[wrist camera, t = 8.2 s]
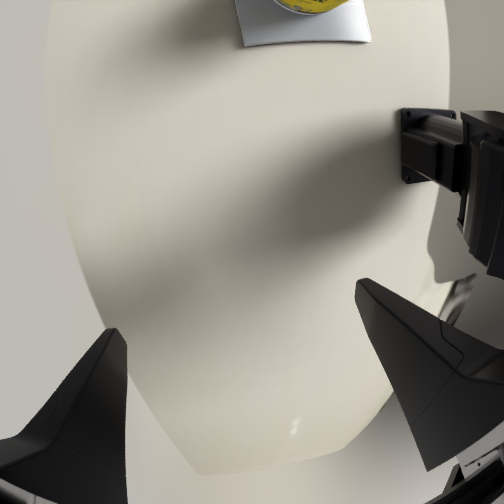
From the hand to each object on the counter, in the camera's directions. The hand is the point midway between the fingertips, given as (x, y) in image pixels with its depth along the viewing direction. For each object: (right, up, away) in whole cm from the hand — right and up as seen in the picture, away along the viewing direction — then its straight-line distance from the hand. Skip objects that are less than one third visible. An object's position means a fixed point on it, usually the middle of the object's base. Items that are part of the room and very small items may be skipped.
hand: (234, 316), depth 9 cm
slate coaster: (+4, +20, +2) cm, 20 cm away
